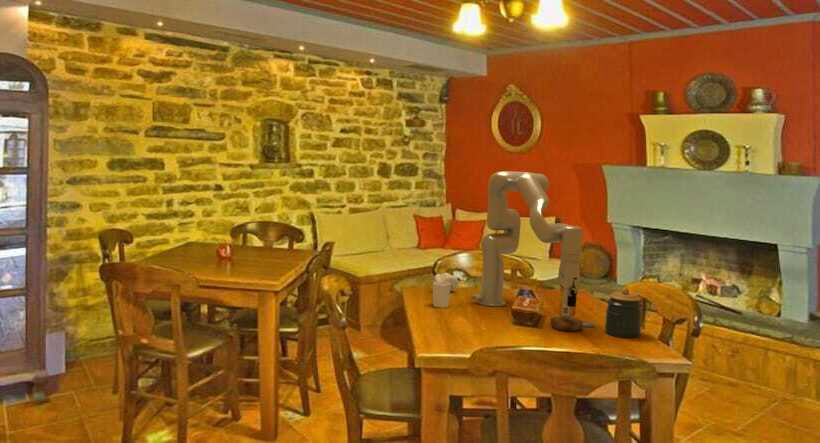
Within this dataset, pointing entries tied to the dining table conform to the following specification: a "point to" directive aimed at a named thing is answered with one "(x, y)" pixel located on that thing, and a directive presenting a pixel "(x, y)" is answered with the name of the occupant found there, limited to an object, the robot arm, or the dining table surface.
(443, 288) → the white cup
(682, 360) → the dining table surface
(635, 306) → the canister
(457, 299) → the dining table surface
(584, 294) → the dining table surface
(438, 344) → the dining table surface
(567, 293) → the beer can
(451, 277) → the grey rounded block
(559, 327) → the stand
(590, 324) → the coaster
